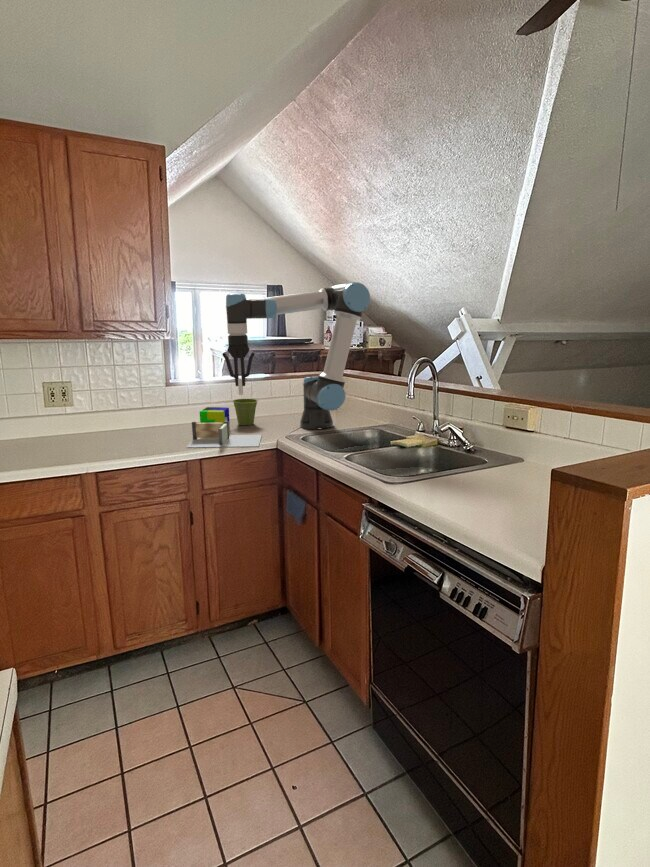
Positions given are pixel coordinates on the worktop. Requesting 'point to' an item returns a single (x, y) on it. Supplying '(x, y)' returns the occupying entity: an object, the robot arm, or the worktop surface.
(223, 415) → the puzzle toy
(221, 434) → the fence panel
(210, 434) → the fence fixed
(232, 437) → the card
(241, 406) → the plant pot
